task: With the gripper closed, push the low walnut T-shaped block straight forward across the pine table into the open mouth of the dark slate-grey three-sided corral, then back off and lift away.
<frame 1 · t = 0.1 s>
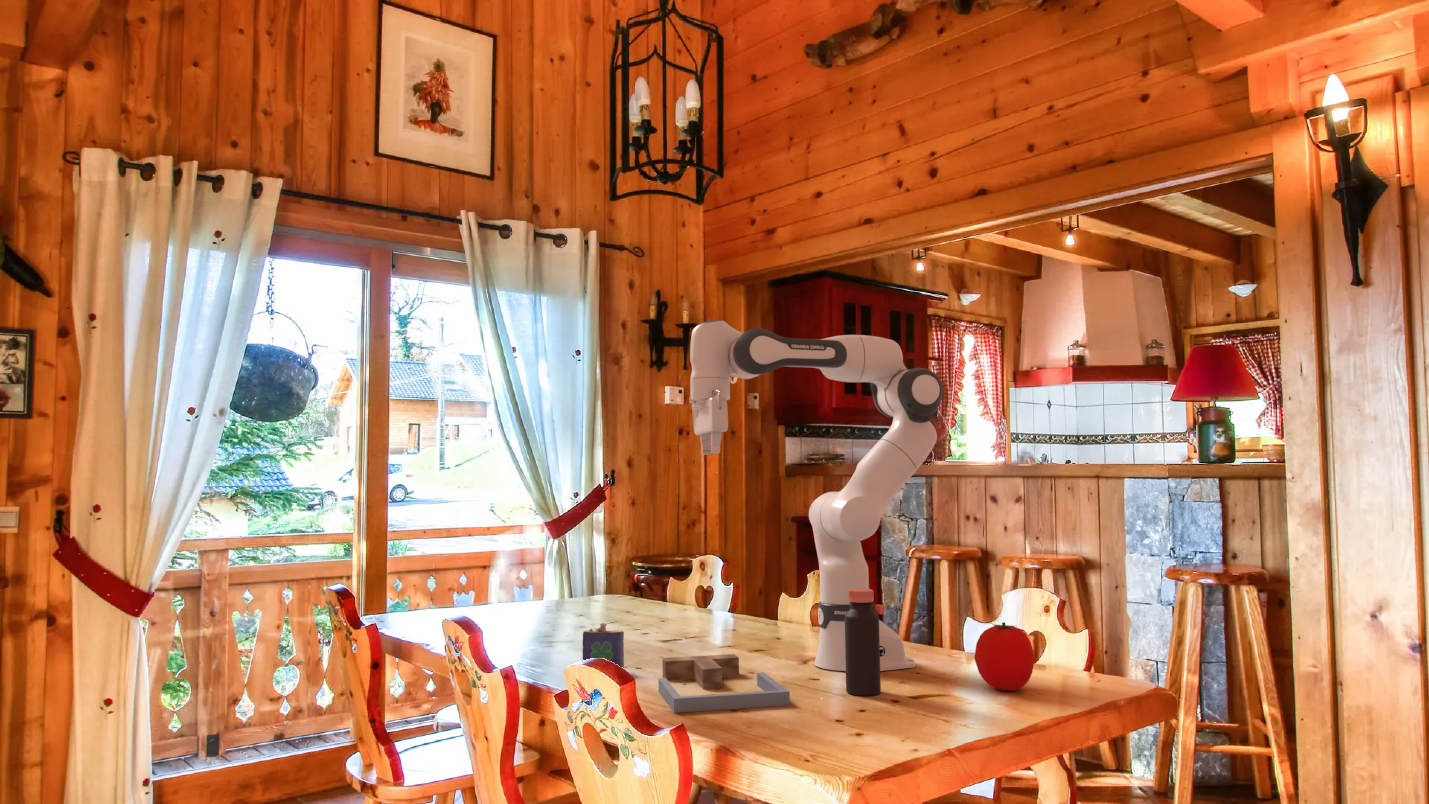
hand: (710, 454, 209), 48 cm above the table, fingers open, 8 cm apart
bottle: (863, 693, 185), on the table
t block: (703, 679, 200), on the table
tomato: (1005, 690, 186), on the table
flask: (603, 672, 208), on the table
corral: (721, 697, 182), on the table
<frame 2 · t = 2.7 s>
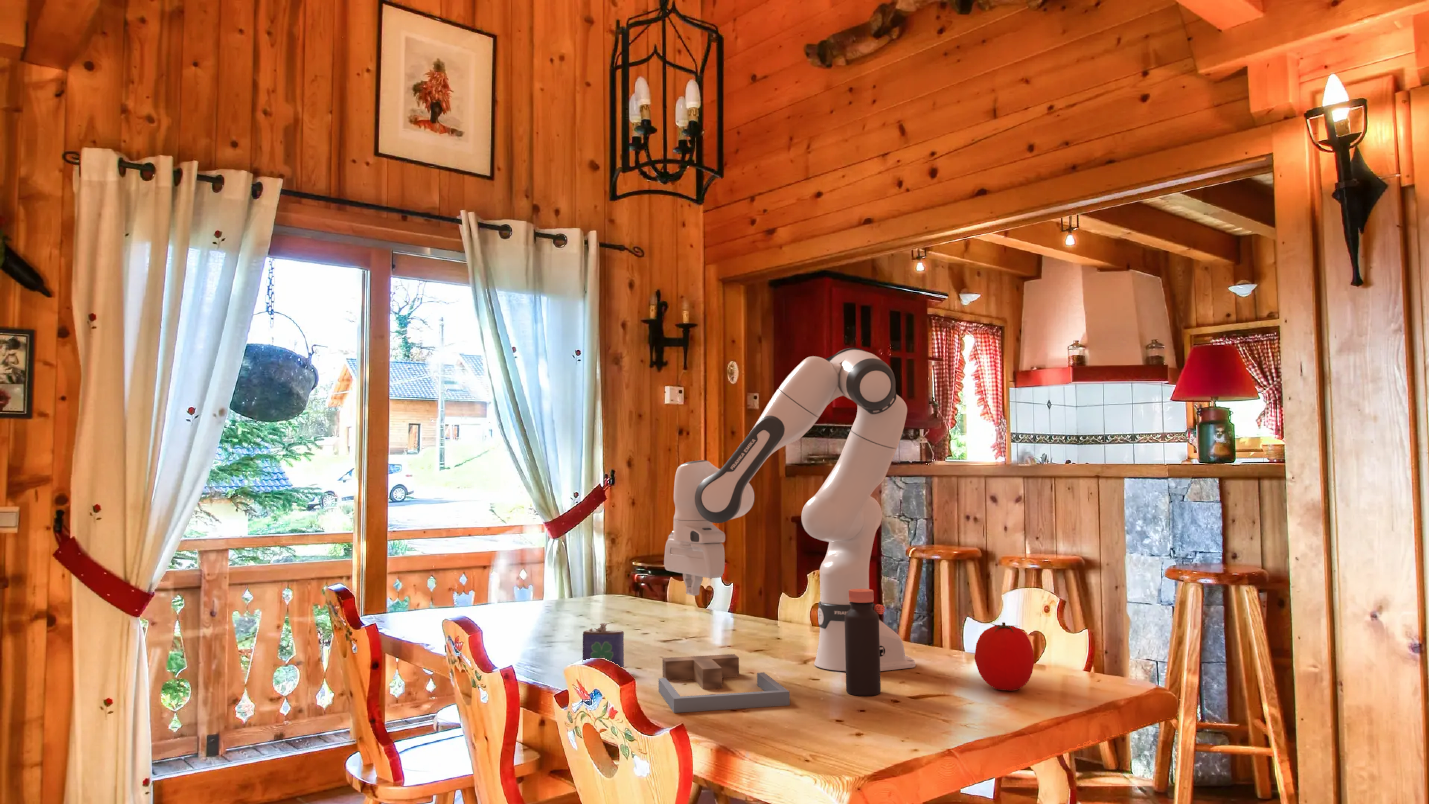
hand: (692, 594, 210), 17 cm above the table, fingers closed
nothing on the table moved.
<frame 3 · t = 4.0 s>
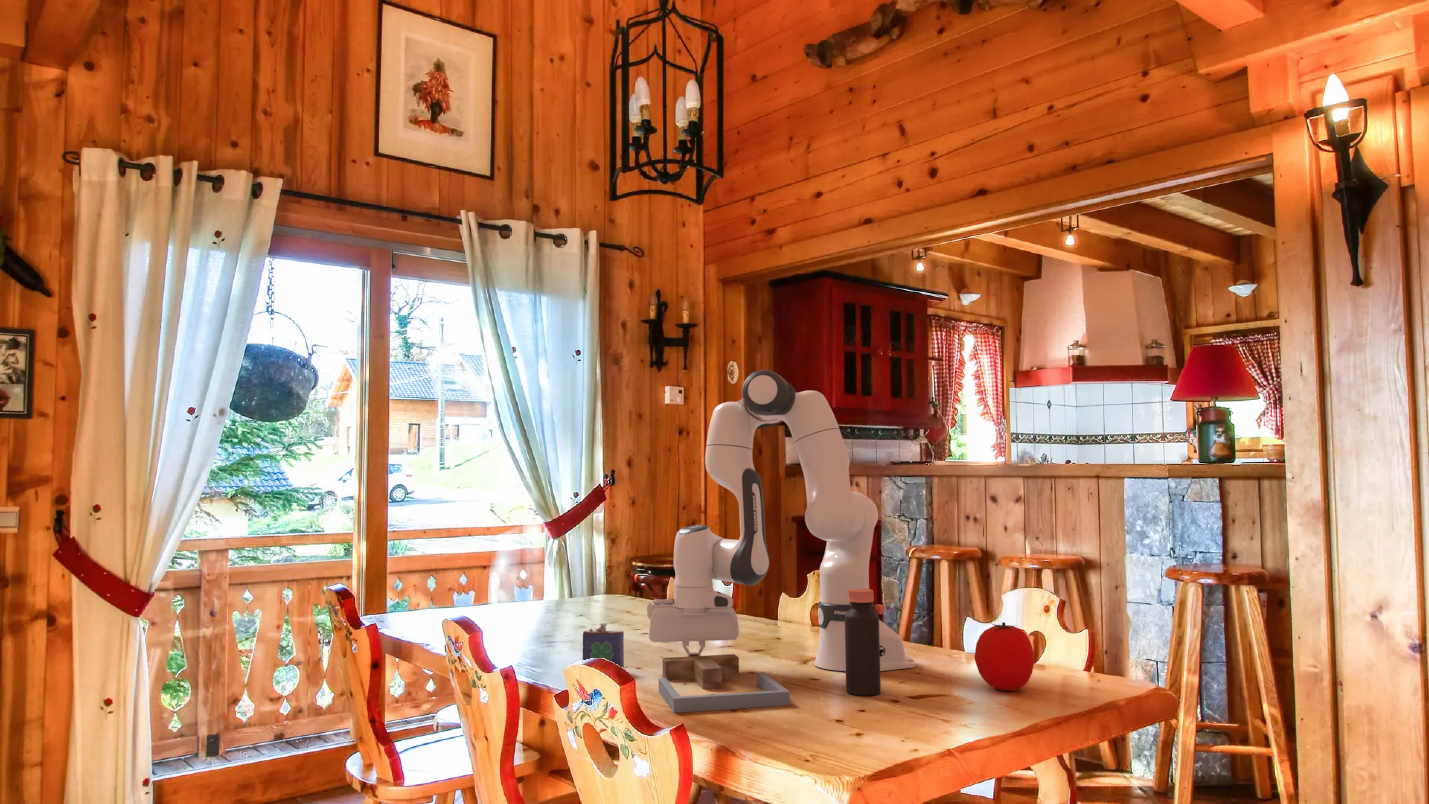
hand: (693, 661, 209), 2 cm above the table, fingers closed
nothing on the table moved.
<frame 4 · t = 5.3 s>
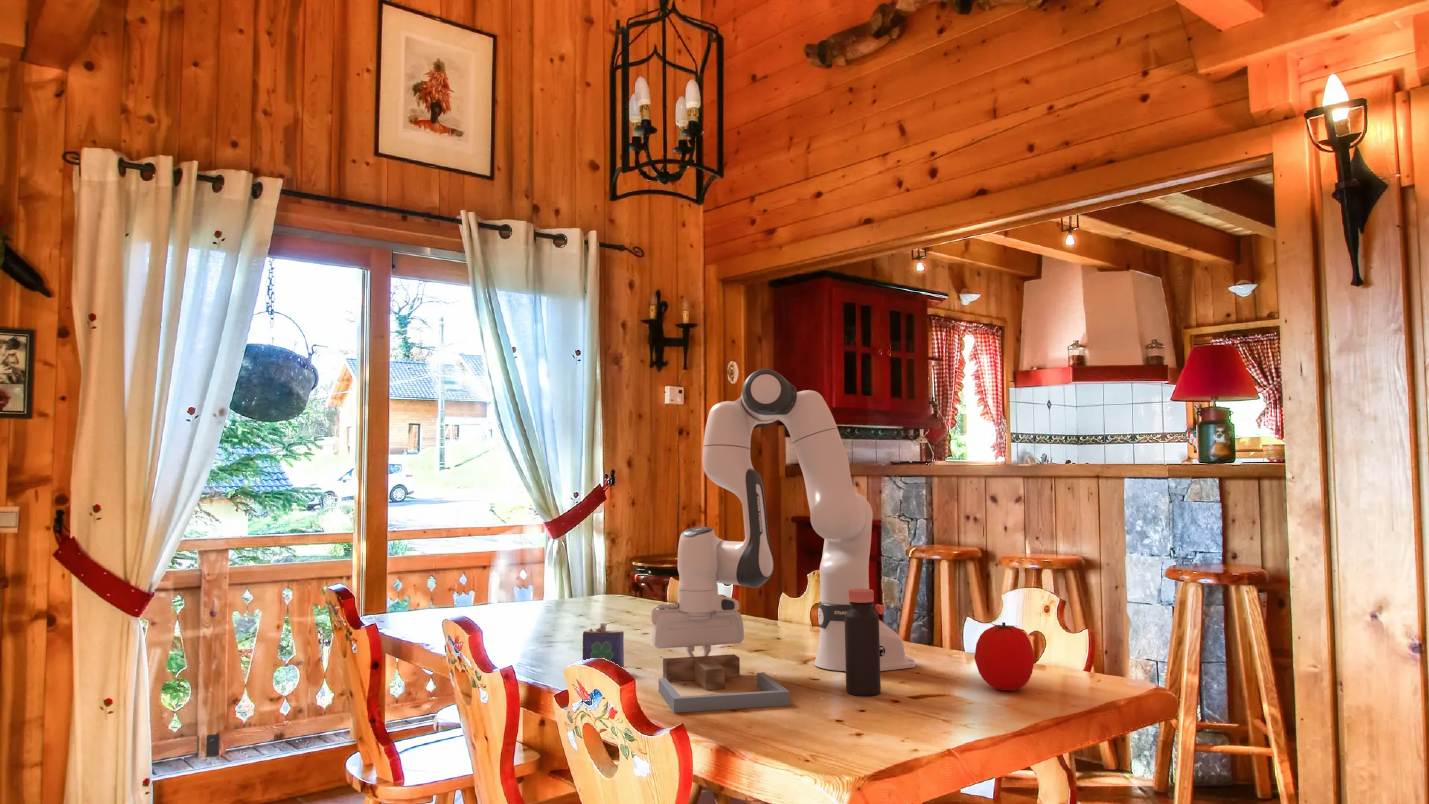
hand: (698, 666, 204), 2 cm above the table, fingers closed
t block: (704, 679, 199), on the table, touching gripper
everything else where it was.
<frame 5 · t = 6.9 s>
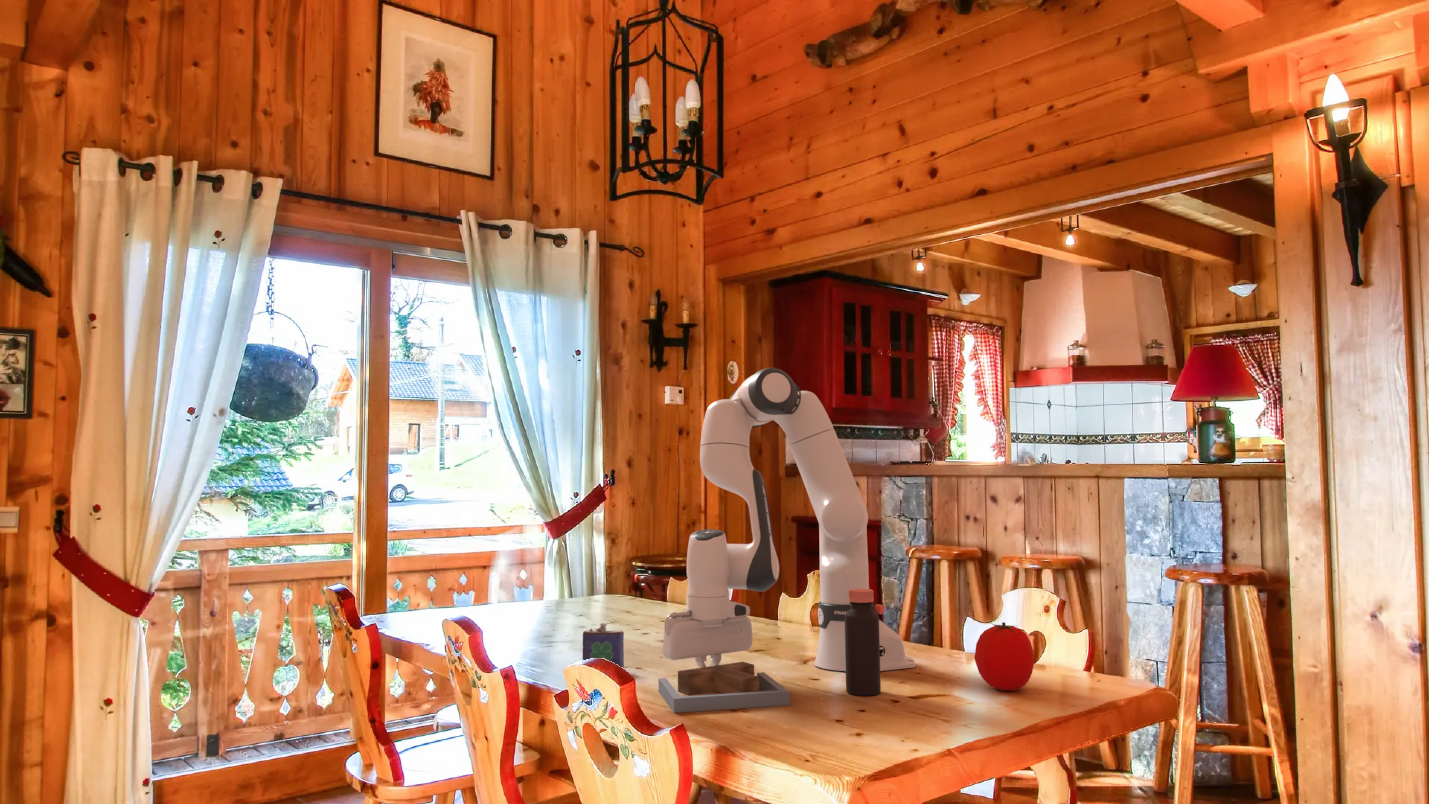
hand: (708, 677, 193), 2 cm above the table, fingers closed, pressing on t block
t block: (723, 690, 189), on the table, touching gripper
everything else where it was.
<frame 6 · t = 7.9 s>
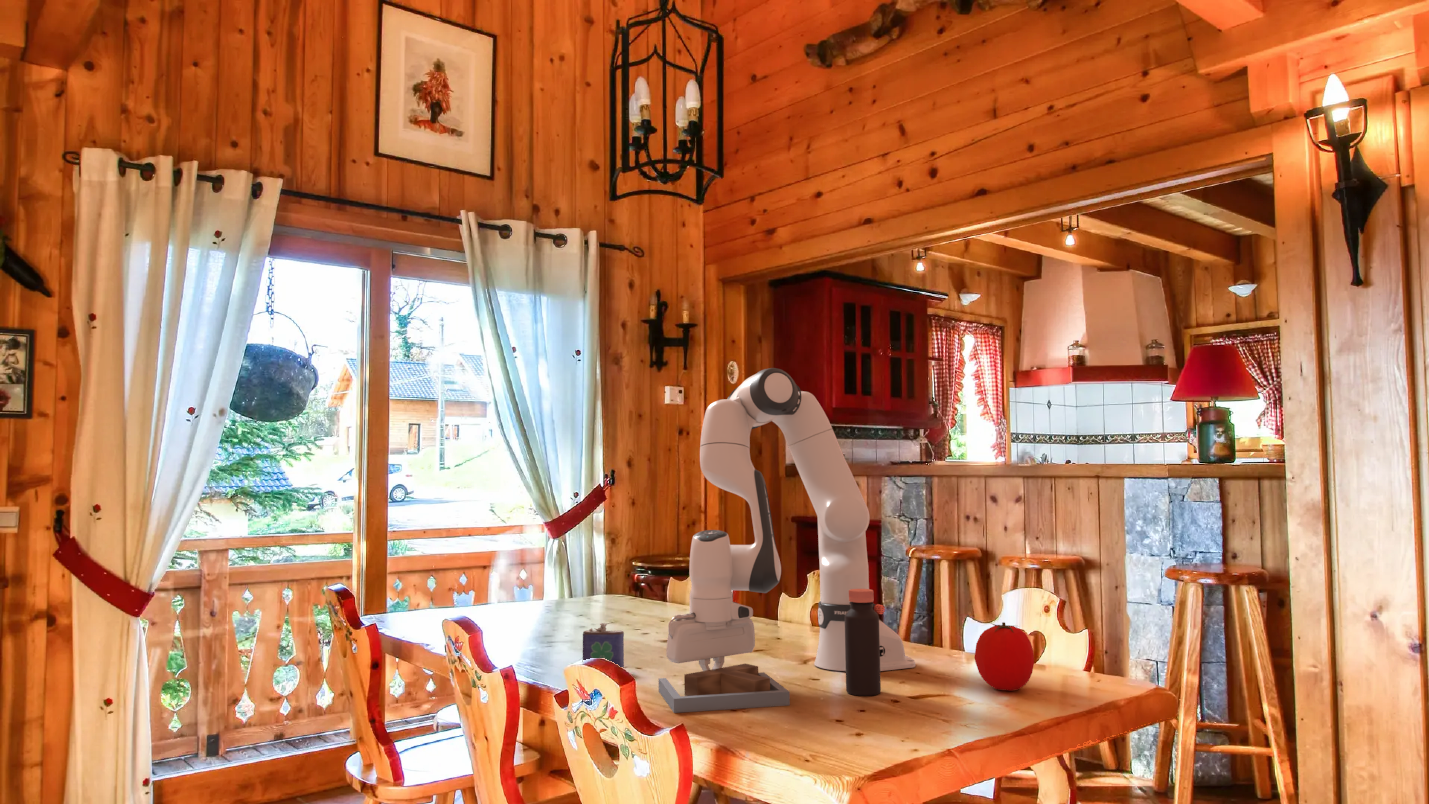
hand: (711, 680, 190), 2 cm above the table, fingers closed
t block: (730, 692, 186), on the table, touching corral, gripper
everything else where it was.
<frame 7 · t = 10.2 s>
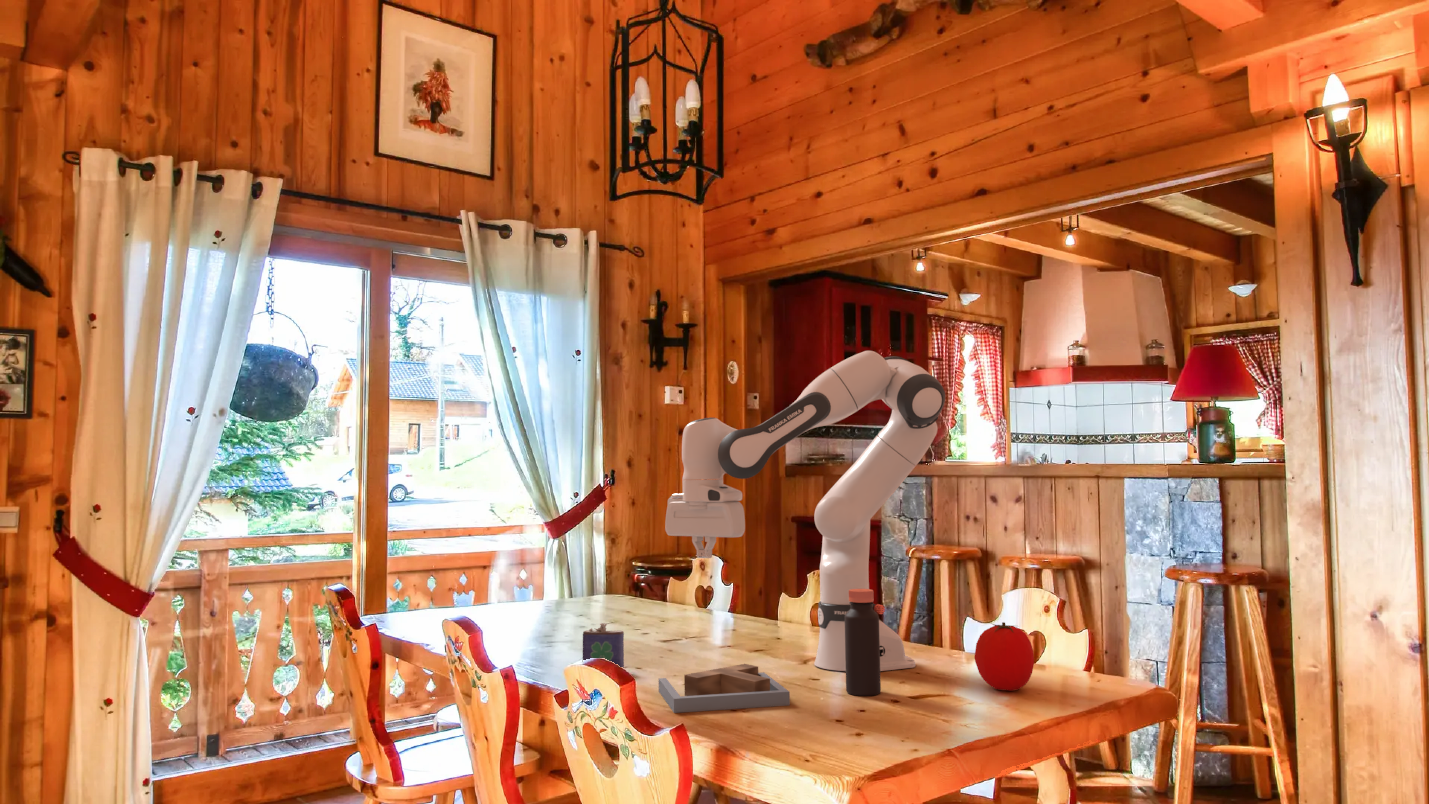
hand: (704, 557, 201), 25 cm above the table, fingers closed
t block: (730, 693, 186), on the table
everything else where it was.
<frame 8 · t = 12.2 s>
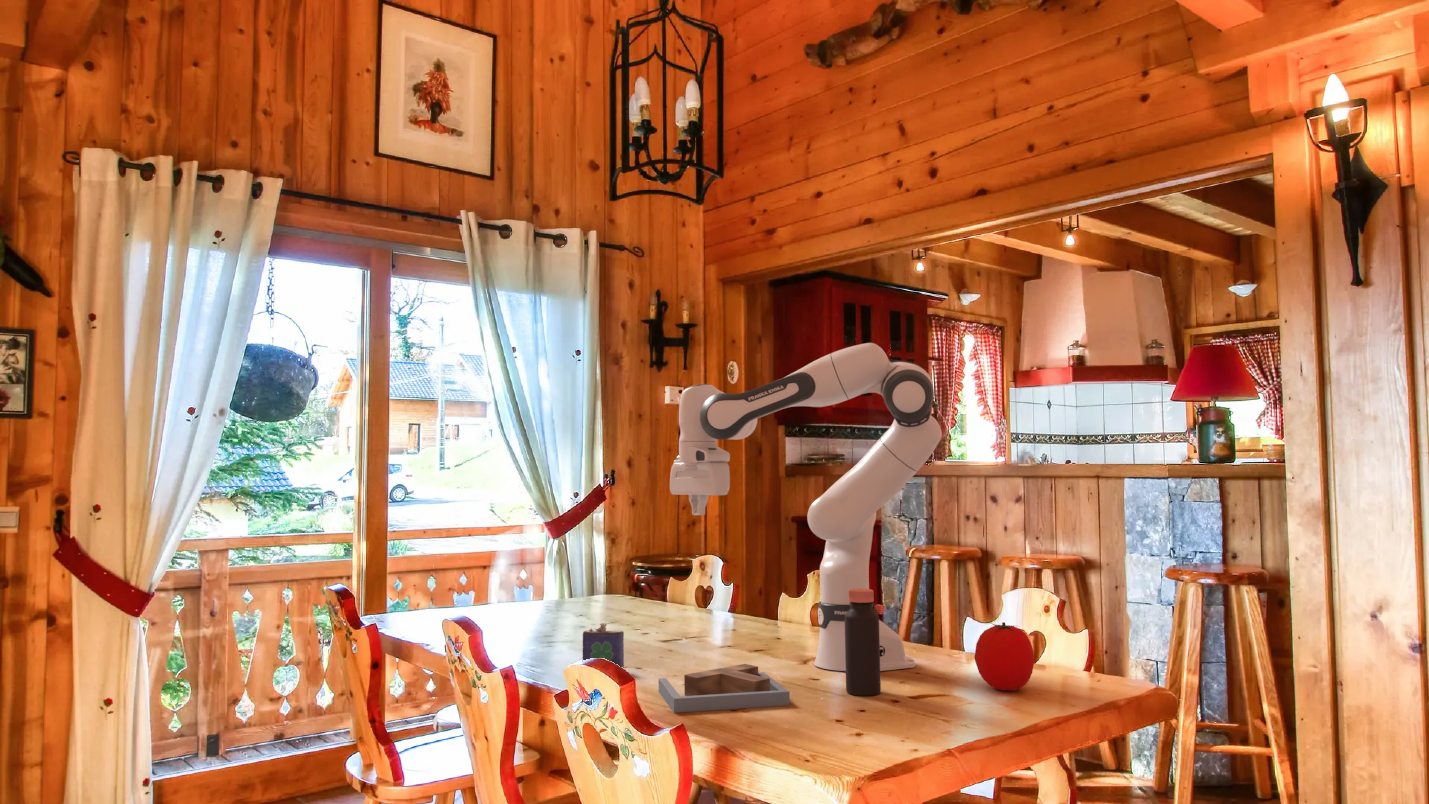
hand: (698, 515, 215), 34 cm above the table, fingers closed
nothing on the table moved.
at the end: t block inside the target area on the corral (2.8 cm from its centre), point 0.0 cm above the corral's base; t block tilted 0° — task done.
